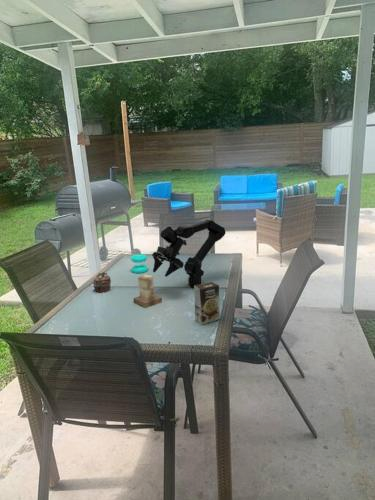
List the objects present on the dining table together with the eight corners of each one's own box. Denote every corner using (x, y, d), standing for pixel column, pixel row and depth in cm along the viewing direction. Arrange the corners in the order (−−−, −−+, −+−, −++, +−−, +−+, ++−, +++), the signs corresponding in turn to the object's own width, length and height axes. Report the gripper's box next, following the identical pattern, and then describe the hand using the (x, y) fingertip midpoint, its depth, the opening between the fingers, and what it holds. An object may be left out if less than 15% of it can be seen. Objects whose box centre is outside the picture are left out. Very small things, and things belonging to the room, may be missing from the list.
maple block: (147, 295, 196) (145, 274, 193) (154, 297, 193) (152, 276, 190) (140, 298, 193) (138, 277, 190) (147, 300, 190) (144, 279, 187)
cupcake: (105, 286, 221) (103, 269, 218) (115, 289, 214) (113, 272, 211) (90, 290, 214) (88, 273, 212) (99, 294, 208) (97, 276, 205)
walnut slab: (150, 298, 201) (149, 292, 200) (162, 303, 193) (161, 297, 192) (133, 303, 194) (133, 298, 194) (145, 309, 187) (144, 303, 186)
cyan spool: (127, 257, 241) (137, 253, 249) (128, 272, 244) (138, 268, 252) (139, 258, 236) (150, 254, 244) (141, 274, 238) (151, 270, 247)
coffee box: (202, 325, 166) (200, 289, 162) (195, 319, 171) (193, 285, 167) (220, 320, 170) (219, 285, 166) (212, 315, 175) (211, 281, 171)
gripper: (153, 236, 201) (138, 262, 197) (178, 243, 188) (162, 271, 184) (165, 247, 208) (151, 272, 205) (190, 254, 196) (175, 281, 192)
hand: (159, 274), depth 196 cm, fingers open, 9 cm apart
